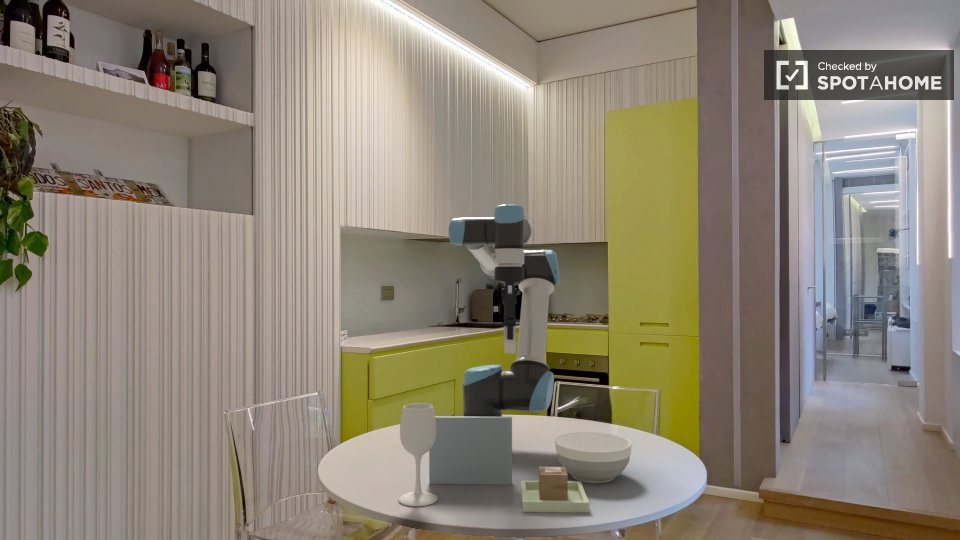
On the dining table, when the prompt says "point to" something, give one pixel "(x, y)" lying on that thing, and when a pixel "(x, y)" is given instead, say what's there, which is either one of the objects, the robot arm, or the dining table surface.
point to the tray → (574, 503)
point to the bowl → (593, 455)
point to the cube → (553, 483)
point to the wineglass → (418, 446)
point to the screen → (471, 450)
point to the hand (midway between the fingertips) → (509, 349)
